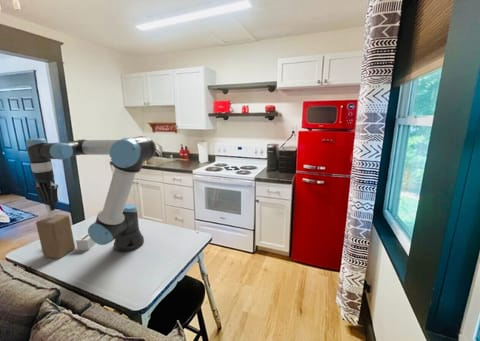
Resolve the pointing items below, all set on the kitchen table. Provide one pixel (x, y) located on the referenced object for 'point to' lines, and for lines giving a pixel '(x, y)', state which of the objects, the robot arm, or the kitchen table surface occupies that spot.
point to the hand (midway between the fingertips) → (52, 215)
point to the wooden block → (55, 236)
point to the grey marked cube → (85, 242)
